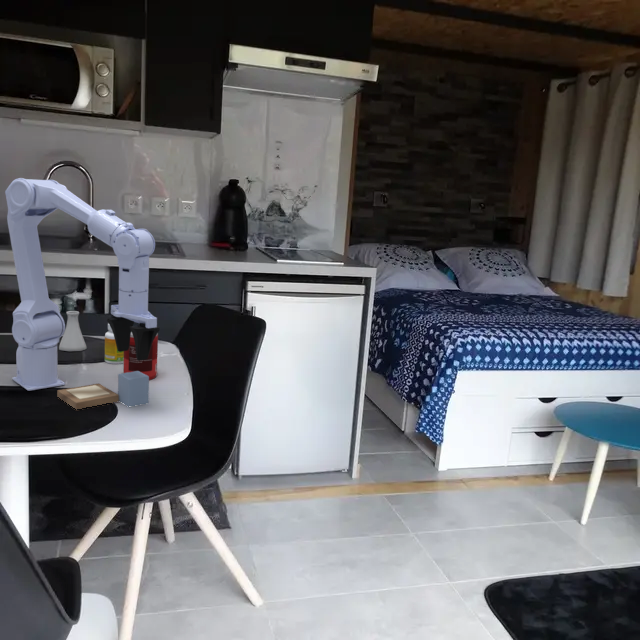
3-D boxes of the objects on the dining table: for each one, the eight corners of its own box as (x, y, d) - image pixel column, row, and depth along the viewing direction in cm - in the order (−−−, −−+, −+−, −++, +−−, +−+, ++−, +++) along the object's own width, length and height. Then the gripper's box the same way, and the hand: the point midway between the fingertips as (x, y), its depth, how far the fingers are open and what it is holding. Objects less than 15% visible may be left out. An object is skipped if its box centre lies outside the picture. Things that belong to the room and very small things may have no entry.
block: (117, 401, 133) (118, 374, 131) (137, 397, 136) (138, 370, 135) (128, 407, 130) (128, 379, 128) (148, 403, 133) (148, 376, 131)
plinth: (57, 397, 132) (57, 389, 131) (98, 390, 138) (98, 382, 138) (76, 410, 126) (76, 401, 125) (118, 402, 132) (118, 394, 132)
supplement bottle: (117, 365, 157) (118, 327, 155) (99, 362, 159) (100, 324, 157) (131, 360, 162) (131, 323, 160) (113, 357, 164) (114, 320, 162)
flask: (62, 344, 171) (62, 308, 169) (90, 346, 172) (90, 310, 170) (54, 351, 164) (54, 314, 162) (83, 353, 165) (83, 315, 163)
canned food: (143, 369, 155) (144, 325, 153) (163, 377, 150) (165, 332, 148) (116, 375, 149) (116, 329, 147) (136, 383, 145) (137, 336, 142)
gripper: (97, 285, 129) (97, 349, 132) (134, 297, 119) (133, 366, 122) (128, 283, 134) (127, 345, 137) (166, 295, 125) (164, 361, 127)
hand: (132, 355), depth 130 cm, fingers open, 7 cm apart
